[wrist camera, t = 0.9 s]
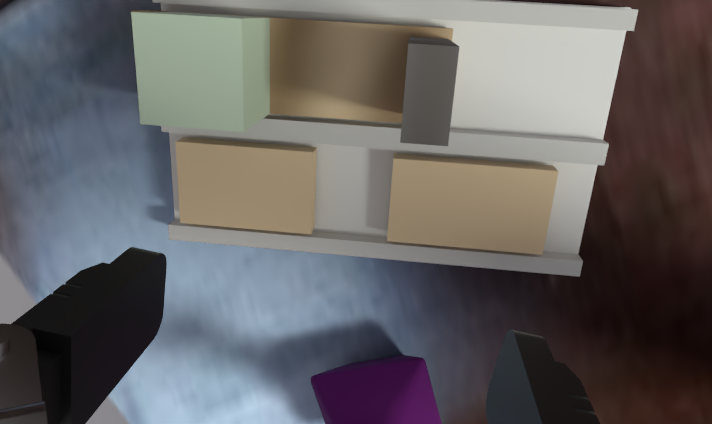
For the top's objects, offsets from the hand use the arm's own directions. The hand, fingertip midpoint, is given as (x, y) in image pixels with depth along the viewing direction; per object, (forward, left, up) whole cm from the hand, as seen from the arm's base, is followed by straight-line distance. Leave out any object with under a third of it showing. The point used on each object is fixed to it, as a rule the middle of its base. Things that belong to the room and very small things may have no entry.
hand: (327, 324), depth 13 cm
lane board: (0, 0, -21) cm, 21 cm away
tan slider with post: (+5, -4, -20) cm, 21 cm away
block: (+9, -4, -19) cm, 21 cm away
